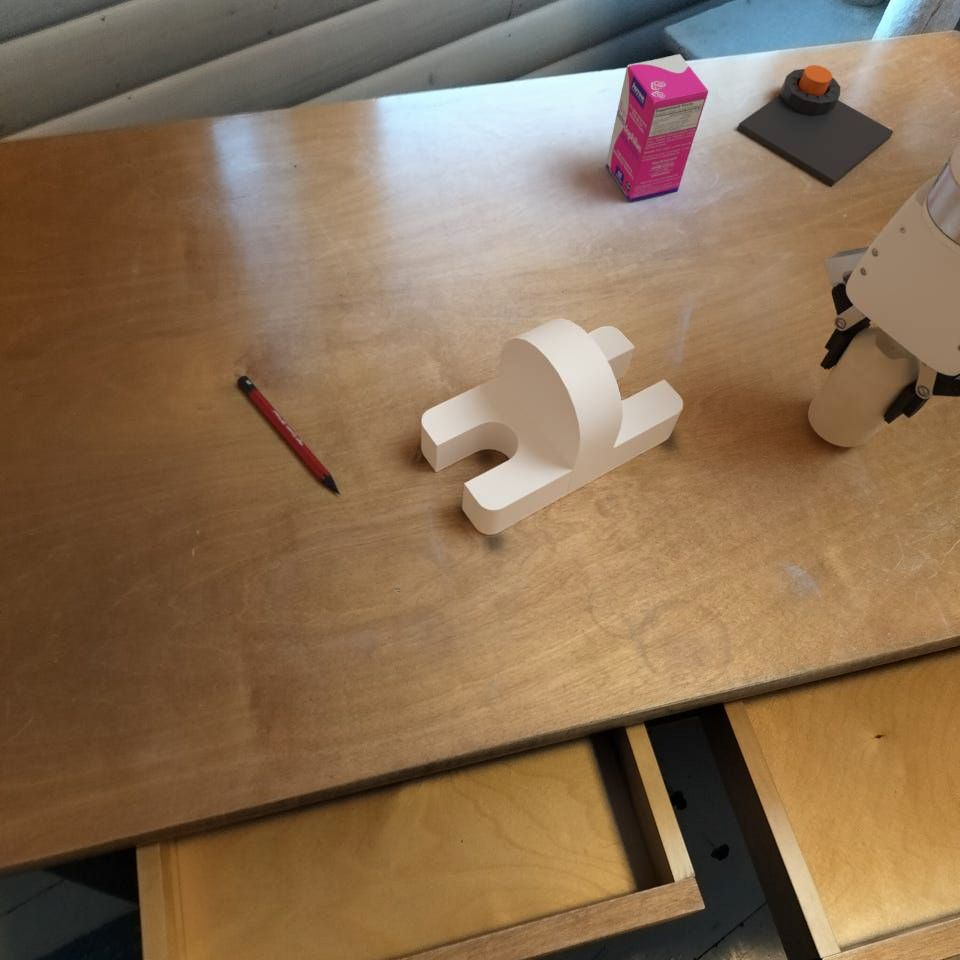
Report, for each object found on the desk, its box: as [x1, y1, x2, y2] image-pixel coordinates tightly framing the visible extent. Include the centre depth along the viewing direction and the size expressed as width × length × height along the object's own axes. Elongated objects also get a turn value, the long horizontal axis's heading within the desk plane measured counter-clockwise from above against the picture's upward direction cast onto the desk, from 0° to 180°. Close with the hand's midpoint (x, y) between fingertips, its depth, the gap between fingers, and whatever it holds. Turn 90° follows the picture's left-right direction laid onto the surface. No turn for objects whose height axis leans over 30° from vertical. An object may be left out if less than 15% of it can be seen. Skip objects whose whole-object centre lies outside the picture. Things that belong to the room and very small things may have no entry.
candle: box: [807, 326, 922, 448], centre depth 66 cm, size 6×6×10 cm
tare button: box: [799, 64, 833, 96], centre depth 92 cm, size 3×3×2 cm
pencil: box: [236, 375, 341, 496], centre depth 67 cm, size 1×14×1 cm, turn 40°
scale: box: [736, 68, 894, 188], centre depth 91 cm, size 12×12×2 cm
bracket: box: [420, 317, 684, 536], centre depth 64 cm, size 19×10×11 cm, turn 123°
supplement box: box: [605, 53, 709, 203], centre depth 81 cm, size 6×6×12 cm
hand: (866, 384), depth 66 cm, fingers closed on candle, 5 cm apart
